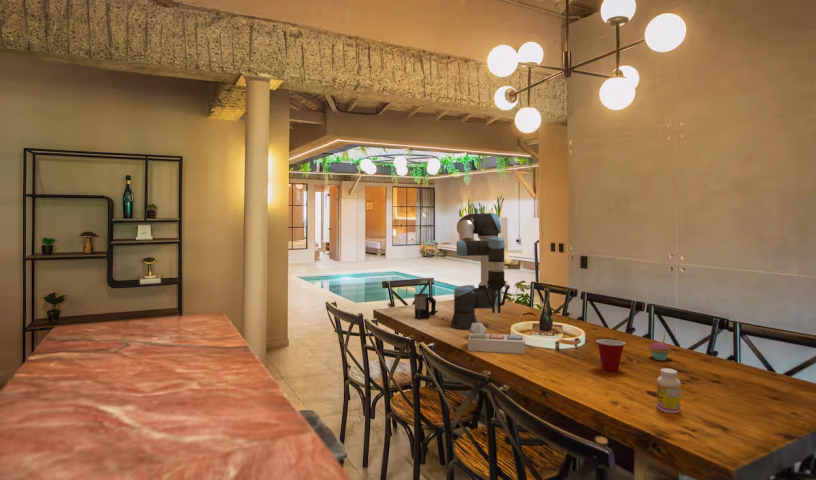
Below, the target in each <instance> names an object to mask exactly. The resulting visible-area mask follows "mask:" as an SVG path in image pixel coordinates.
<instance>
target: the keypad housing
mask: <svg viewBox="0 0 816 480" xmlns="http://www.w3.org/2000/svg"><path fill="white" fill-rule="evenodd" d="M490 334H491V333H485V339H480V338H472V333H469V335H468V338H467V351H468V352H477V351H484V352H483V353H497V352H498V354H499V353H500V354H501V353H502V354H519V355H520V354H521V355H526V338H525V335H523V334H520V335H521V338H522V340H508V335H509V334H504V333H503V340H502V339H490Z"/></svg>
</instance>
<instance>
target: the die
mask: <svg viewBox="0 0 816 480" xmlns="http://www.w3.org/2000/svg"><path fill="white" fill-rule="evenodd" d="M487 330H488V329H487V328H486V326H484V323H482V322H478V323H472V324H471V327H470V329H468V333H469V334H470V333H484V334H487V333H486V332H487Z"/></svg>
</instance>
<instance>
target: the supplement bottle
mask: <svg viewBox="0 0 816 480" xmlns="http://www.w3.org/2000/svg"><path fill="white" fill-rule="evenodd" d="M660 374H661V375H660V376H658V378H657V379H656V408H657V409H658V410H660V411H661V412H663V411H664V412H663V413H667V414H678V413H679V412H680V411H681V395H682V394H681V392H682V391H681V389H682V388H681V387H682V385H681V383H682V382H681V380H680V379H679V378H678V371H677V370H676V369H673V368H669V367H668V368H667V367H665V368H661V369H660Z"/></svg>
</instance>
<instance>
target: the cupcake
mask: <svg viewBox="0 0 816 480" xmlns="http://www.w3.org/2000/svg"><path fill="white" fill-rule="evenodd" d="M665 340H666V331H665V332H664V334H663V337H662V342H661V341H660V342H652V343H650V345H648V351H650V352H651V354H652V357H653V359H655V360H657V361H666V360H667V359H668V356H669V354H670V353H671V352H672V347H671V346H670V345H668V344H667V343H665Z"/></svg>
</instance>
